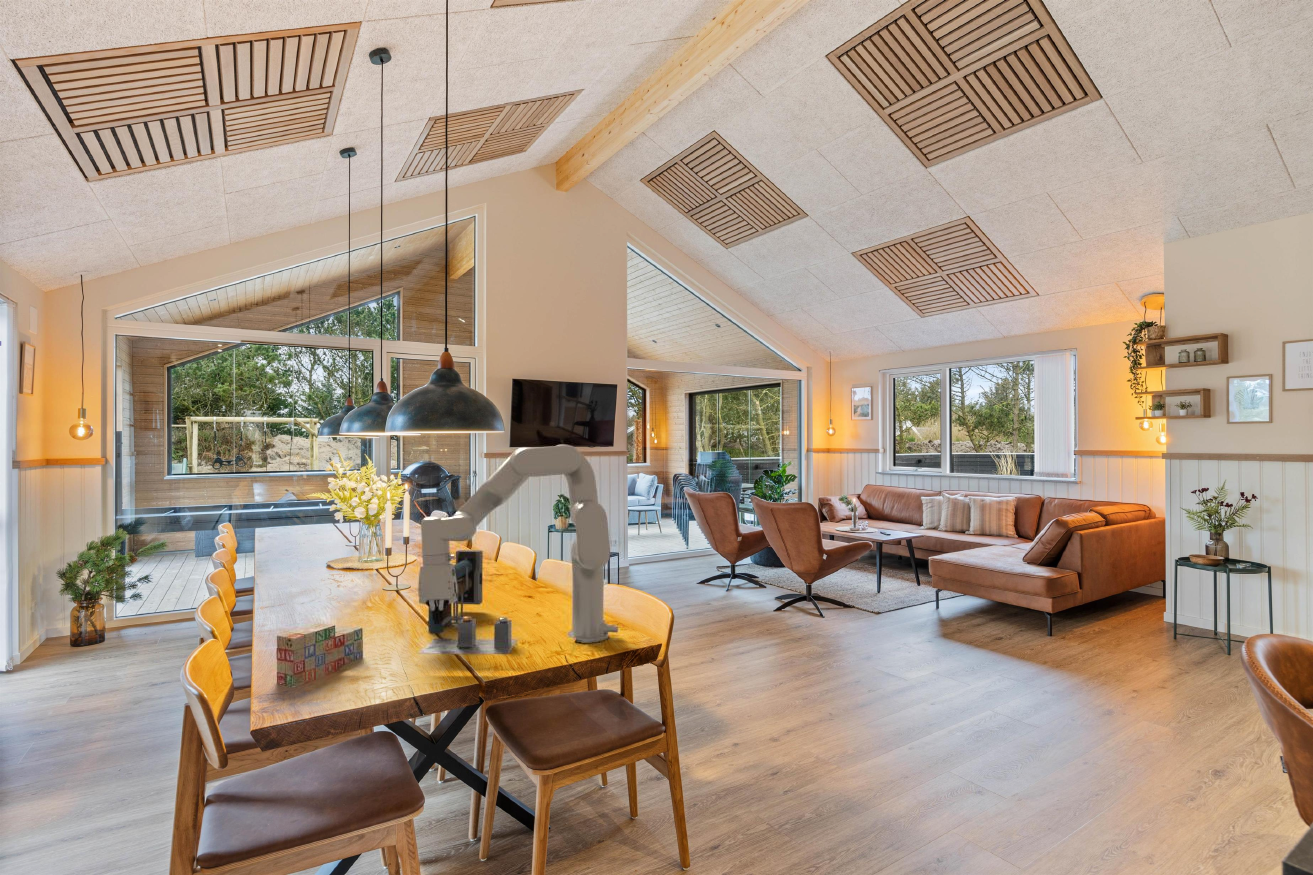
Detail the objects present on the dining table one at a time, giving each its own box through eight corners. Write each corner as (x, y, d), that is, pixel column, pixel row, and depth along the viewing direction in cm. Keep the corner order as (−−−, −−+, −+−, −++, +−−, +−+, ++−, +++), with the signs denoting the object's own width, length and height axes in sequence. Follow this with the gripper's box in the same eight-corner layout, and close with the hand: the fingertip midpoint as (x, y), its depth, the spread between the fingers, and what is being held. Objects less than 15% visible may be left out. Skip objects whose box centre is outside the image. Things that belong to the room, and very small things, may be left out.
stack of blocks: (346, 658, 189) (346, 614, 189) (363, 661, 186) (363, 616, 186) (276, 684, 169) (276, 634, 169) (293, 687, 167) (293, 637, 167)
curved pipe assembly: (443, 640, 205) (443, 569, 205) (415, 639, 206) (415, 569, 206) (482, 611, 240) (482, 550, 240) (458, 610, 241) (458, 550, 241)
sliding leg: (475, 642, 198) (475, 615, 198) (471, 647, 194) (471, 618, 194) (461, 642, 198) (461, 615, 198) (457, 646, 194) (457, 618, 194)
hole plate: (518, 642, 203) (518, 638, 203) (507, 658, 189) (507, 653, 189) (434, 642, 203) (434, 638, 203) (417, 657, 189) (417, 653, 189)
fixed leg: (511, 644, 198) (511, 616, 198) (508, 648, 194) (508, 620, 194) (497, 643, 198) (497, 616, 198) (494, 648, 194) (494, 620, 194)
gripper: (465, 556, 200) (468, 618, 200) (415, 557, 200) (417, 620, 200) (458, 561, 192) (460, 626, 193) (405, 563, 193) (408, 627, 193)
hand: (438, 622), depth 196 cm, fingers closed
